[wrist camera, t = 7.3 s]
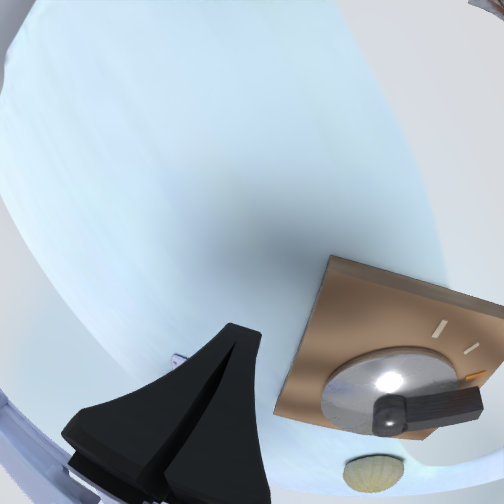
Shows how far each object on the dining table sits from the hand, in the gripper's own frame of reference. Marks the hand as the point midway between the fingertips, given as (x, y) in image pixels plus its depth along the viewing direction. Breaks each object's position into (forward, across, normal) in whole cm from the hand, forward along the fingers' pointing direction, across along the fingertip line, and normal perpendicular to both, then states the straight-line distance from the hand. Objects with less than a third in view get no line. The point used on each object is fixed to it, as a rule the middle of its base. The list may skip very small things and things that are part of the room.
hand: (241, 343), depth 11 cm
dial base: (+9, -12, +10) cm, 18 cm away
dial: (+7, -13, +10) cm, 18 cm away
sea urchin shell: (+10, -21, +31) cm, 39 cm away
